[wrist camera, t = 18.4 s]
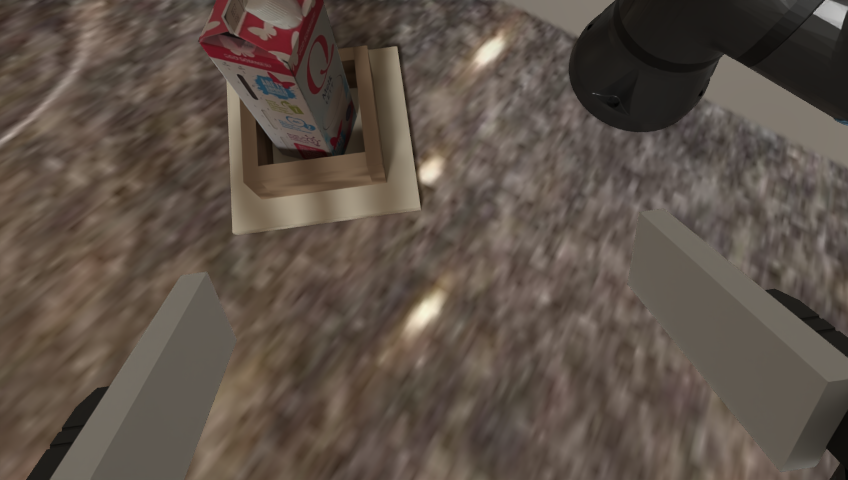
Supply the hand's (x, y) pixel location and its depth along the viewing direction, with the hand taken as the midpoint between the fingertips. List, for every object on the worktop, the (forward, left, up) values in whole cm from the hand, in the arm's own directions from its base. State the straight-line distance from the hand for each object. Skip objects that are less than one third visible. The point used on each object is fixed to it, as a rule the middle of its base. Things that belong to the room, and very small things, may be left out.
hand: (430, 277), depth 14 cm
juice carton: (+9, -23, -32) cm, 40 cm away
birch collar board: (+9, -23, -33) cm, 41 cm away
